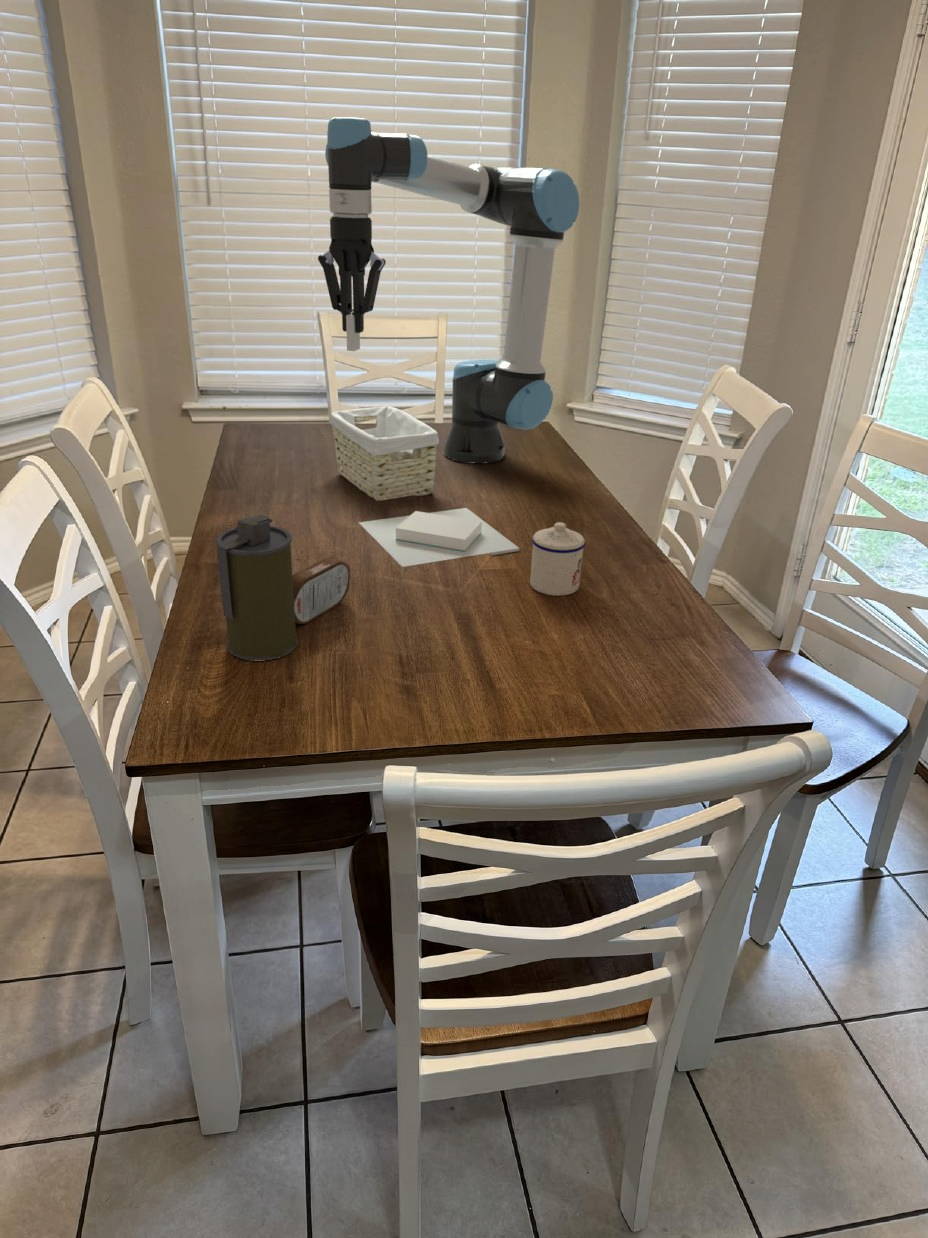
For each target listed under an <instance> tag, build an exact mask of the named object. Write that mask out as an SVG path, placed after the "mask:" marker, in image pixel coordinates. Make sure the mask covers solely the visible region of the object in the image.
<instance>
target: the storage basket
mask: <svg viewBox="0 0 928 1238" xmlns="http://www.w3.org/2000/svg"><path fill="white" fill-rule="evenodd" d="M330 416H331V418H330V425H331V428H332V435H333V438H334V447H335V458H336V464H337V465H336V466H337V471H338V473H339V474H340V475H341V476H342V477H344V478H345V479H346V480H348V482H349V483H352V485H354V486H356V488H358V489H359V490H360V491H362V492H364V493H365V494H366V495H367V496H369V497H370V498H373V499H374V500H375V501H385V500H390V499H391V500H392V499H397V498H398V499H399V498H404V497H410V496H411V497H412V496H417V497H424V496H427V495H431V494H433V492H434V485H435V476H436V473H435V470H436V468H437V467H436V466H437V462H436V460H437V447H438V445H439V444H440V438H439V434H438V432H437V430H436V429H434V428H432V426H430V425H428V424H426V423H425V422H423V421H421V420H419V419H417V418H415V417H414V416H413V415H410V414H409V413H407V412H405V411H403V410H401V409H399V408H396V407H393V406H391V405H386V406H373V407H365V408H364V407H363V408H357V409H355V408H354V409H346V410H339V411H338V410H337V411H333V412H331V414H330ZM374 420H376V421H375V423H376V427H372V428H363V429H360V428H359V427H357V426H356V422H364V421H365V422H366V421H374Z"/></svg>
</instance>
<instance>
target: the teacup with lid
mask: <svg viewBox="0 0 928 1238" xmlns="http://www.w3.org/2000/svg"><path fill="white" fill-rule="evenodd" d="M531 542H532V552H531V568H530V569H531V570H530V579H529V580H530V581H529V583H530V586H531V587H532V589H534V590H535V591H536V592H538V593H541V594H544V595H548V596H556V597H557V596H558V597H559V596H560V597H561V596H567V595H568V596H569V595H571V594H574V593H575V592H577V591H578V590H579V589H580V582H581V572H582V566H583V565H582V564H583V553H584V548H585V547H586V541H585V538H584V537H583V535H582V534H580V533H579V532H577V531H575V530H572V529H569V528H568V527H567V525H566V523H564V522H560V521H559V522H556V523H554V525H553V526H552V527H548V528H543V529H539V530H537V531H536V532H535V533H534V534H533V536H532V539H531Z"/></svg>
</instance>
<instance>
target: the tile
mask: <svg viewBox="0 0 928 1238" xmlns="http://www.w3.org/2000/svg"><path fill="white" fill-rule="evenodd" d="M431 513H432V512H424V511H418V510H415V511H414V512H413V513H411V514H410V515H408V516H409V517H408V518H407V519H406V520H404V521H403V522H402V523H401V524H400V525H399V526H398V527H396V540H398V541H404V542H409V543H415V544H421V545H427V546H433V547H438V548H444V549H450V550H456V551H462V552H465V551H466V550H467V549H468V548H469V547H470V546H471V544H472V543H473V542H474V541H475V540H476V539H477V538H478V537H479V536H480V534H481V529H482V522H481V521H475V520H468V519H462V518H456V517H450V516H444V515H437V514H431Z"/></svg>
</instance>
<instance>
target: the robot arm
mask: <svg viewBox="0 0 928 1238" xmlns="http://www.w3.org/2000/svg"><path fill="white" fill-rule="evenodd" d="M371 127H372V126H371V121H370V120H369V119H368V118H362V117H361V118H360V117H346V116H345V117H344V116H343V117H342V116H341V117H340V116H339V117H332V118H331V119H329V121H328V124H327V132H326V135H327V139H326V140H327V141H326V142H327V143H326V146H325V150H324V151H325V160H326V164H327V166H328V189H329V190H328V193H329V196H328V197H329V199H328V200H329V212H330V213H331V214H332V215H333V216H332V215H331V216H330V218H329V229H330V232H329V233H330V235H329V236H330V240H331V241H330V244H329V247H328V249H329V250H328V251H326V252H325V253H324V254H320V255H318V257H317V260H318V262H319V264H320V266H321V267H322V270H323V274H324V277H325V282H326V286H327V291H328V294H329V299H330V303H331V307H332V309H333V310H335V311H337V312H339V313H341V320H342V321H341V322H342V324H341V325H342V326H341V327H342V331H343V332H346V351H347V352H348V351H349V352H356V351H358V350H361V333H363V332H364V330H365V329H364V328H365V326H364V325H365V322H364V319H365V318H364V316H365V314H366V313H369V312H372V311H373V310H374V306H375V301H376V297H377V291H378V286H379V282H380V278H381V272H382V270H383V269H384V267H385V265H386V264H387V263H386V259H385V258H380V257H379V256H378V255H377V254H375V250H374V247H373V245H372V239H373V236H372V235H373V231H372V229H373V227H372V226H373V223H372V219H371V217H369V215H371V214H372V212H373V207H372V206H373V205H372V182H373V183H377V184H381V185H384V186H386V187H387V186H388V187H391V188H395V189H399V190H402V191H405V192H406V191H407V192H411V193H414V194H416V195H417V194H418V195H421V196H425V197H429V198H433V199H436V200H441V201H444V202H448V203H451V204H455V205H459V206H460V208H461V209H462V210H463V211H465V212H467V213H468V214H473V215H476V216H480V217H483V218H484V219H486V220H487V219H488V220H490V221H492V222H494V223H495V222H496V223H499V224H501V225H504V226H507V227H509V237H510V238H511V240H512V242H513V243H514V244H515V247H514V248H515V249H514V255H513V257H514V258H513V263H512V264H513V265H512V275H511V284H510V292H509V302H508V308H507V309H508V310H507V318H506V319H507V320H506V326H505V327H506V328H505V337H504V346H503V355H502V358H501V359H500V360H498V359H473V360H466V361H461V362H458V363H456V365H455V366H454V368H453V377H452V397H451V398H452V400H451V401H452V402H451V405H452V408H451V409H452V410H451V414H452V415H451V424H450V428H449V430H448V434H447V437H446V439H445V442H444V446H443V455H444V454H445V455H446V456H447V457H449V458H450V460H451V459H455V460H458V461H462V462H461V463H463V462H475V463H482V464H485V463H484V462H492V463H495V462H494V461H496V462H498V461H497V460H499V459H501V460H502V458H503V459H504V457H505V444H504V440H503V438H502V434H501V429H500V424H503V425H506V426H508V427H510V428H512V429H520V430H523V431H524V430H525V431H529V430H532V429H535V428H537V427H538V426H539V425H540V424H542V422H543V421H544V420H545V419H546V418H547V416H548V415H549V413H550V411H551V409H552V405H553V402H554V401H553V400H554V393H553V390H552V387H551V386H550V384H549V383H548V382H547V381H545V379H546V372H547V370H546V368H545V367H544V366H543V364H542V363H541V358H542V353H543V344H544V336H545V328H546V320H547V314H548V313H547V312H548V305H549V297H550V289H551V281H552V274H553V267H554V266H553V265H554V258H555V250H556V248H557V247H558V246H559V245H561V244H562V243H563V242H564V236H565V232H567V231H569V230H570V229H572V226H573V225H574V223H575V222H576V221H577V218H578V216H579V211H580V195H579V191H578V187H577V185H576V184H575V183H574V180H573V178H572V177H571V176H570V175H569V174H568V173H567V172H565V171H564V170H558V169H556V168H555V169H553V168H550V167H547V168H546V167H543V168H542V167H539V168H537V167H520V166H519V167H518V166H507V167H503V166H502V167H501V166H497V167H495V166H487V165H486V166H485V165H482V164H478V163H474V164H471V165H469V166H467V165H463V164H460V163H457V162H455V161H450V160H447V159H445V158H444V159H443V158H441V157H437V156H434V155H431V154H428V149H427V148H428V147H427V146H426V143H425V142H424V141H423V140H424V139H422V138H421V137H420V136H418V135H414V134H408V133H393V132H391V133H389V132H374V131H372V128H371ZM334 262H335V263H336V265H337V266H338V275H339V278H338V275H337V271H336V267H335V264H334ZM368 264H369V267H370V269H369V273H368V276H367V281H366V282H367V283H366V287H365V276H366V267H367V266H368ZM338 279H339V280H338ZM445 455H444V456H445ZM446 456H445V457H446ZM503 456H504V457H503ZM447 457H446V458H447ZM449 458H448V459H449ZM458 461H457V462H458ZM499 461H500V460H499Z"/></svg>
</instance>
